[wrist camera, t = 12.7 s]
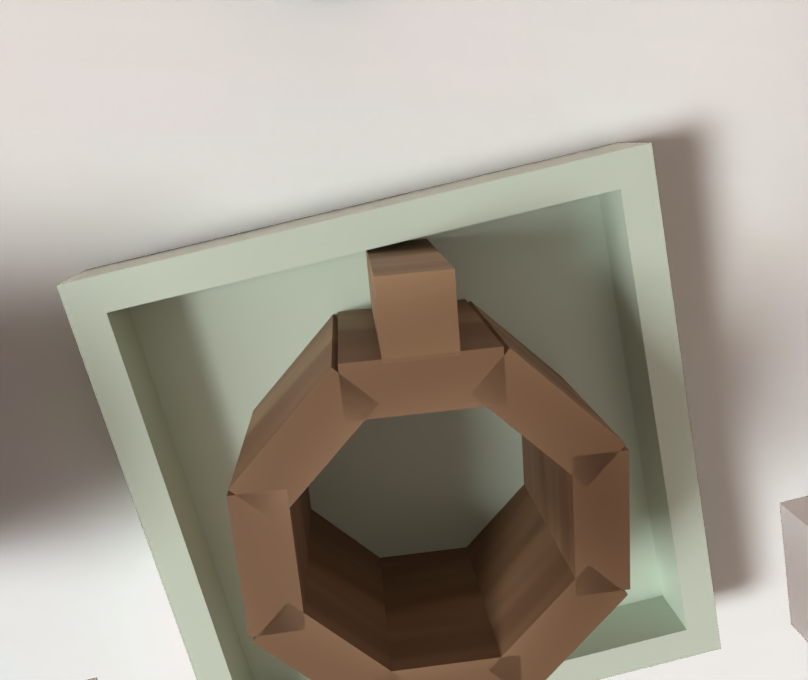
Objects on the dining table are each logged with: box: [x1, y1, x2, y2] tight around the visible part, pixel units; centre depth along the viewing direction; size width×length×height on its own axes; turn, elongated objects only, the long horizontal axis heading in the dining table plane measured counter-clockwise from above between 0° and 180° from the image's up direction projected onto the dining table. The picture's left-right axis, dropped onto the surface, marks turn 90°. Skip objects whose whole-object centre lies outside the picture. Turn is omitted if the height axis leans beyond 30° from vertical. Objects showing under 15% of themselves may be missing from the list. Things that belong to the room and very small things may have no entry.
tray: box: [56, 143, 721, 680], centre depth 23 cm, size 16×16×2 cm
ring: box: [227, 239, 630, 680], centre depth 21 cm, size 12×10×6 cm
